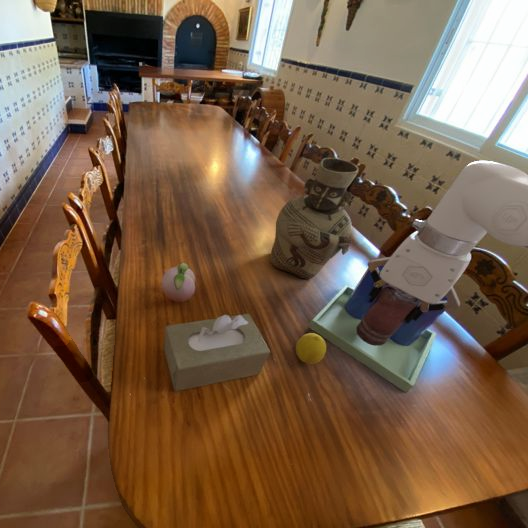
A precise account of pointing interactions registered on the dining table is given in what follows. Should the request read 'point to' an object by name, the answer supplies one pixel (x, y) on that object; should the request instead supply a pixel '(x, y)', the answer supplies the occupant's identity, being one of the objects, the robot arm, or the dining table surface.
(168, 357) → the tissue box
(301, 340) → the lemon
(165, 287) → the decorative fruit
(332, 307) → the tray
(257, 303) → the dining table surface
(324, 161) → the ceramic vessel
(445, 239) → the robot arm
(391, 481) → the dining table surface
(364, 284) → the tumbler
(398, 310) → the can
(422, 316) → the tumbler
